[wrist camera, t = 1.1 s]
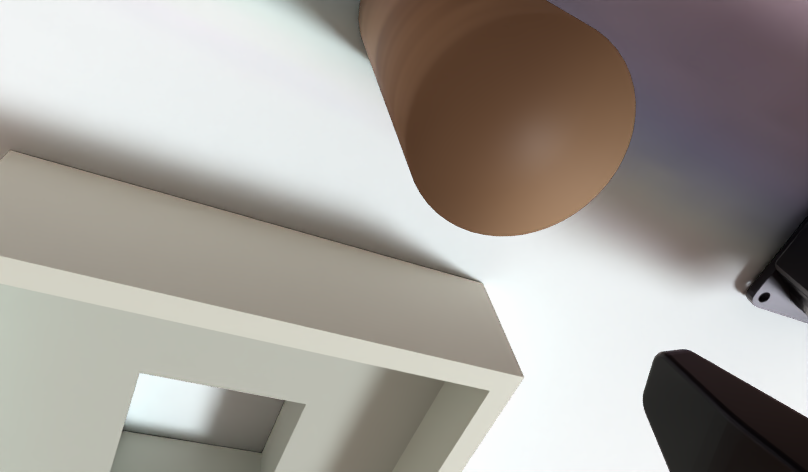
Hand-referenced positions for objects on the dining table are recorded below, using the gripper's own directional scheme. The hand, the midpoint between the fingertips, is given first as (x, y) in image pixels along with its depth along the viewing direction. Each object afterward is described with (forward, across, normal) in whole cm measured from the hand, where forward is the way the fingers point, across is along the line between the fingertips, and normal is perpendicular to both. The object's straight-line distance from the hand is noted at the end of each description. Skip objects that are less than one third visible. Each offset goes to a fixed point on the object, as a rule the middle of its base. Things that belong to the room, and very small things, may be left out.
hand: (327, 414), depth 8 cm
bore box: (+13, +4, +12) cm, 18 cm away
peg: (+13, -4, -2) cm, 14 cm away
